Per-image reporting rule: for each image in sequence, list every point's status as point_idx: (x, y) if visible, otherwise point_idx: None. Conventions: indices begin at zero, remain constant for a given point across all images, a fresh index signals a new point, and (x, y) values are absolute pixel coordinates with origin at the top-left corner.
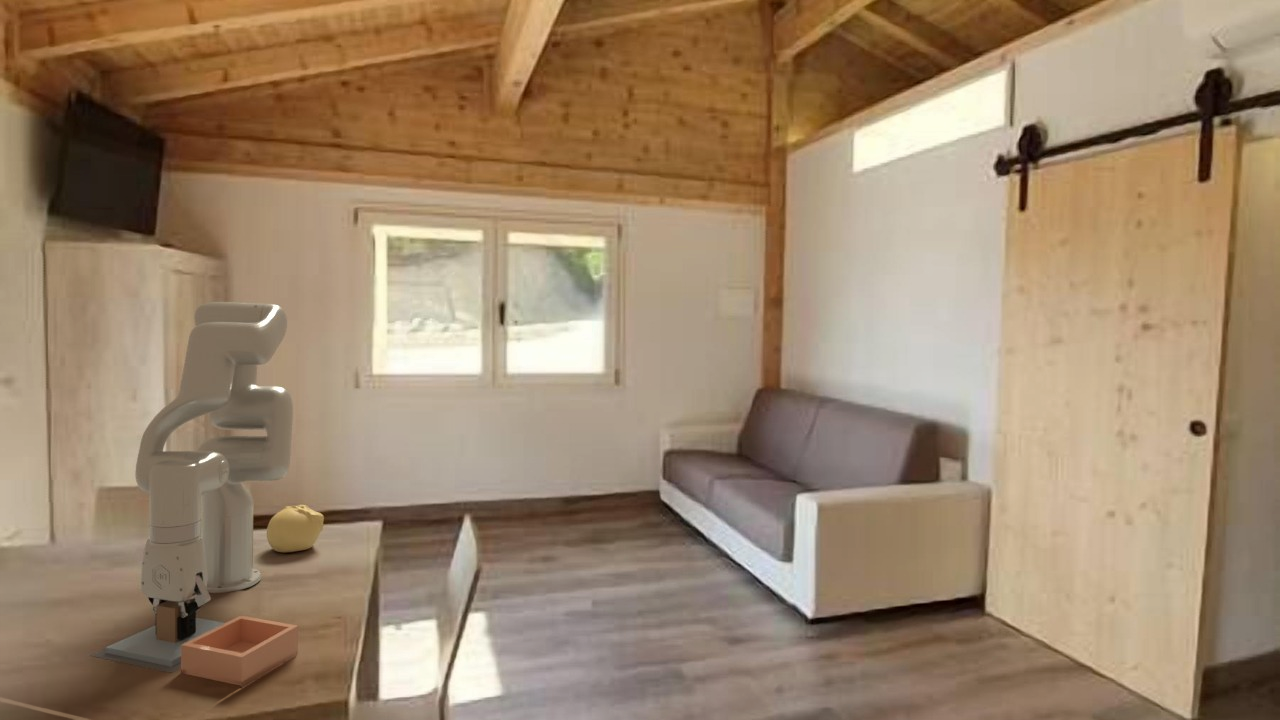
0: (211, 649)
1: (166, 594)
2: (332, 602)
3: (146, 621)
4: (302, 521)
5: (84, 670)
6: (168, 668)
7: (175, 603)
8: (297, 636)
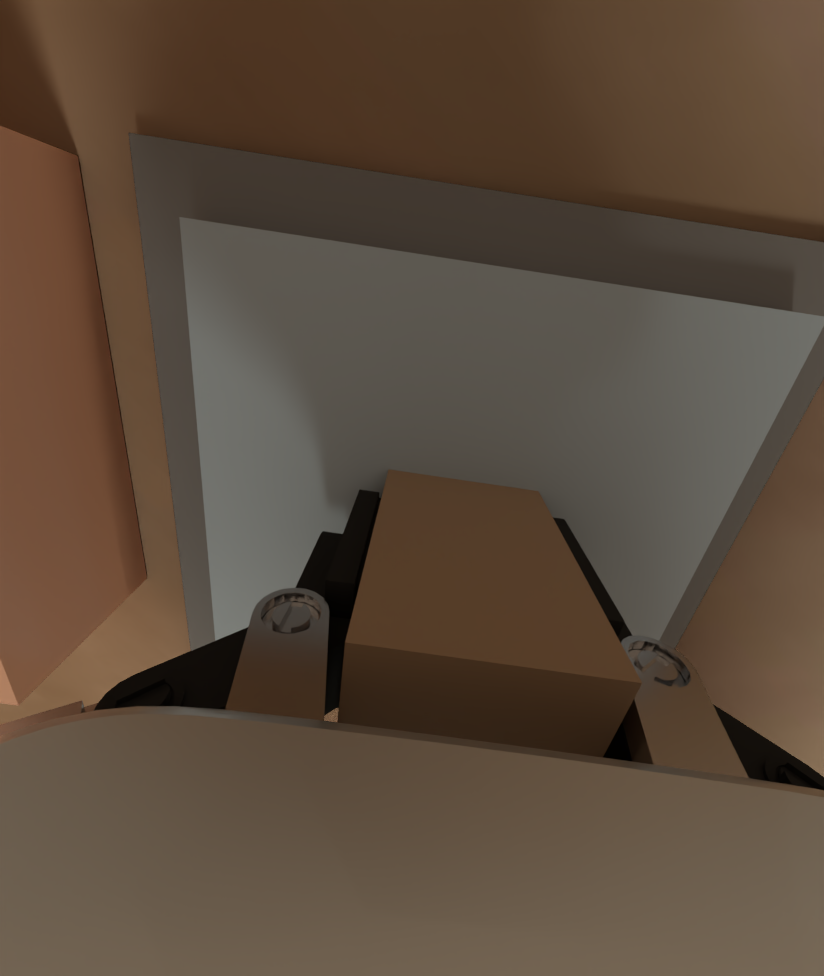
0: None
1: (400, 877)
2: None
3: (760, 686)
4: None
5: (820, 42)
6: (201, 193)
7: None
8: None
